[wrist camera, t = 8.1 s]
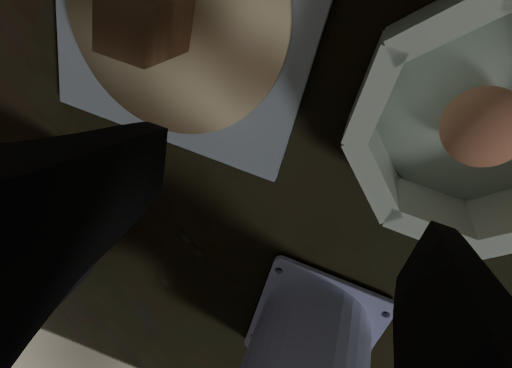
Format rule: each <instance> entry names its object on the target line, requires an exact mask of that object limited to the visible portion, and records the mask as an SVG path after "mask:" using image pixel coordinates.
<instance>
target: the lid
mask: <svg viewBox="0 0 512 368" xmlns="http://www.w3.org/2000/svg"><path fill="white" fill-rule="evenodd" d="M65 1H66V7H67V12H68V17H69V21H70V25H71V28H72V32H73V35H74V37H75V40H76V42H77V45H78V48H79V50H80V52H81V54H82V56H83V58H84V60H85V62H86V63H87V65H88V67H89V68H90V70H91V72H92V73H93V75H94V76H95V78H96V79H97V80H98V82H99V83H100V84H101V86H102V87H103V88H104V89H105V90H106V91H107V93H108V94H109V95H110V96H111V97H112V98H113V99H114V100H115V101H116V102H117V103H119V104H120V105H121V106H122V107H123V108H124V109H126V110H127V111H128V112H130V113H131V114H132V115H134V116H135V117H137V118H139V119H141V120H142V121H144V122H151V123H154V124H157V125H160V126H162V127H165V128H168V131H170V132H175V133H181V134H203V133H210V132H214V131H218V130H221V129H223V128H226V127H228V126H231V125H233V124H234V123H236V122H238V121H239V120H241V119H243V118H244V117H245V116H246V115H248V114H249V113H250V112H251V111H253V110H254V109H255V108H256V107H257V106H258V105H259V104H260V102H261V101H262V100H263V99H264V98H265V97H266V96H267V95H268V93H269V92H270V90H271V89H272V87H273V86H274V85H275V83H276V81H277V79H278V77H279V75H280V73H281V71H282V69H283V67H284V64H285V61H286V58H287V55H288V51H289V47H290V42H291V37H292V27H293V0H65Z"/></svg>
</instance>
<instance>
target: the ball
mask: <svg viewBox="0 0 512 368" xmlns="http://www.w3.org/2000/svg"><path fill="white" fill-rule="evenodd" d="M439 136H440V140H441V143H442V145H443V147H444V149H445V150H446V152H447V153H448V154H449V155H450V156H451V157H453V158H454V159H455V160H457V161H458V162H460V163H463V164H465V165H468V166H472V167H493V166H497V165H500V164H503V163H505V162H507V161H509V160H511V159H512V91H511V90H509V89H506V88H503V87H499V86H480V87H475V88H472V89H469V90H467V91H465V92H463V93H461V94H460V95H458V96H457V97H455V98H454V99H453V100H452V101H451V102H450V103H449V104H448V105H447V107H446V108H445V110H444V112H443V114H442V116H441V119H440V123H439Z"/></svg>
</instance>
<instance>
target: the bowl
mask: <svg viewBox="0 0 512 368" xmlns="http://www.w3.org/2000/svg"><path fill="white" fill-rule="evenodd" d="M480 86H499V87H503V88H506V89H509V90H511V91H512V0H436V1H434V2H432V3H430V4H429V5H427V6H425V7H423V8H421V9H419V10H417V11H415V12H413V13H411V14H410V15H408V16H406V17H404V18H402V19H400V20H398V21H396V22H394V23H393V24H391V25H389V26H387V27H385V30H383V31H382V34H381V36H380V39H379V41H378V44H377V46H376V49H375V51H374V54H373V56H372V59H371V61H370V64H369V66H368V69H367V71H366V74H365V76H364V79H363V81H362V84H361V86H360V89H359V91H358V94H357V97H356V99H355V102H354V104H353V107H352V109H351V112H350V114H349V118H348V121H347V124H346V128H345V131H344V134H343V138H342V141H341V144H342V145H341V148H342V150H343V152H344V154H345V156H346V158H347V160H348V162H349V164H350V166H351V168H352V170H353V172H354V173H355V175H356V177H357V179H358V181H359V183H360V185H361V187H362V189H363V191H364V193H365V195H366V197H367V199H368V201H369V203H370V205H371V207H372V209H373V211H374V213H375V215H376V217H377V219H378V221H379V223H380V224H382V226H383V227H386V228H389V229H391V230H394V231H397V232H399V233H402V234H405V235H407V236H410V237H413V238H415V239H418V240H419V239H420V238H421V236H422V234H423V233H424V231H425V229H426V228H427V226H428V224H429V223H430V221H431V220H432V221H435V222H438V223H441V224H444V225H446V226H449V227H452V228H455V229H457V230H458V231H459V232H460V233H461V235H462V236H463V237H464V238H465V239H466V240H467V242H468V243H469V244H470V245H471V246H472V248H473V249H474V250H475V251H476V253H477V254H478V255H479V256H480V258H481V259H482V260H483V259H488V258H493V257H497V256H502V255H507V254H512V159H511V160H509V161H507V162H505V163H503V164H500V165H497V166H493V167H472V166H468V165H465V164H463V163H460V162H458V161H457V160H455V159H454V158H453V157H451V156H450V155H449V154H448V153H447V152H446V150H445V149H444V147H443V145H442V143H441V140H440V136H439V123H440V119H441V116H442V114H443V112H444V110H445V108H446V107H447V105H448V104H449V103H450V102H451V101H452V100H453V99H454V98H455V97H457V96H458V95H460V94H461V93H463V92H465V91H467V90H469V89H472V88H475V87H480Z"/></svg>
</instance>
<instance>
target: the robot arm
mask: <svg viewBox="0 0 512 368" xmlns="http://www.w3.org/2000/svg"><path fill="white" fill-rule="evenodd" d="M167 135H168V128H165V127H162V126H160V125H157V124H154V123H151V122H137V123H130V124H124V125H118V126H113V127H108V128H102V129H97V130H92V131H86V132H81V133H76V134H69V135H63V136H56V137H50V138H43V139H37V140H29V141H21V142H11V143H0V368H11V367H12V365H13V364H14V363H15V361H16V360H17V359H18V357H19V356H20V354H21V353H22V351H23V350H24V349H25V347H26V346H27V345H28V343H29V342H30V341H31V340H32V338H33V337H34V336H35V334H36V333H37V332H38V330H39V329H40V328H41V327H42V325H43V324H44V323H45V321H46V320H47V319H48V317H49V316H50V315H51V314H52V312H53V311H54V310H55V309H56V307H57V306H58V305H59V304H60V302H61V301H62V300H63V299H64V297H65V296H66V295H67V294H68V293H69V291H70V290H71V289H72V288H73V286H74V285H75V284H76V283H77V282H78V281H79V279H80V278H81V277H82V276H83V275H84V274H85V273H86V272H87V271H88V270H89V269H90V268H91V267H92V266H93V265H94V264H95V263H96V262H97V261H98V260H99V259H100V258H101V257H102V256H103V255H104V254H105V253H106V252H107V251H108V250H109V249H110V248H111V247H112V246H113V245H114V244H115V243H116V242H117V241H118V240H119V239H120V238H121V237H122V236H123V235H124V234H125V233H126V232H127V231H128V230H129V229H130V228H131V227H132V226H133V225H134V224H135V223H136V222H137V221H138V220H139V219H140V218H141V217H142V216H143V215H144V213H145V212H146V211H147V210H148V208H149V207H150V206H151V204H152V203H153V202H154V200H155V199H156V197H157V196H158V195H159V193H160V192H161V190H162V187H163V176H164V166H165V156H166V145H167ZM277 267H278V268H281V269H282V270H279V269H278V268H277ZM383 311H386V312H389V313H384V312H383ZM392 319H393V344H394V368H512V296H511V295H510V294H509V293H508V291H507V290H506V289H505V288H504V287H503V285H502V284H501V283H500V282H499V280H498V279H497V278H496V277H495V275H494V274H493V273H492V272H491V270H490V269H489V268H488V267H487V265H486V264H485V263H484V262H483V260H482V259H481V258H480V256H479V255H478V254H477V253H476V251H475V250H474V249H473V248H472V246H471V245H470V244H469V243H468V242H467V240H466V239H465V238H464V237H463V236H462V235H461V233H460V232H459V231H458V230H457V229H455V228H452V227H449V226H446V225H444V224H441V223H438V222H435V221H432V220H431V221H430V223H429V224H428V226H427V228H426V229H425V231H424V233H423V234H422V236H421V238H420V239H419V241H418V243H417V245H416V246H415V248H414V250H413V251H412V253H411V255H410V256H409V258H408V260H407V261H406V263H405V265H404V266H403V268H402V270H401V271H400V273H399V275H398V277H397V281H396V288H395V296H394V300H392V299H389V298H387V297H384V296H382V295H379V294H377V293H374V292H372V291H369V290H367V289H364V288H362V287H359V286H357V285H355V284H352V283H350V282H347V281H345V280H342V279H340V278H337V277H335V276H332V275H330V274H327V273H325V272H322V271H320V270H317V269H315V268H312V267H310V266H307V265H305V264H303V263H300V262H298V261H295V260H293V259H290V258H288V257H285V256H282V255H280V256H277V257H276V258H275V260H274V262H273V265H272V268H271V270H270V273H269V276H268V278H267V281H266V284H265V287H264V289H263V292H262V295H261V298H260V300H259V303H258V306H257V309H256V311H255V314H254V317H253V320H252V322H251V325H250V328H249V331H248V333H247V336H246V339H245V342H244V343H245V345H246V346H247V347H248V348H247V351H246V353H245V356H244V358H243V361H242V364H241V366H240V368H370V361H371V350H372V348H373V347H374V345H375V344H376V342H377V341H378V339H379V338H380V336H381V335H382V333H383V332H384V330H385V329H386V328H387V326H388V325H389V323H390V322H391V320H392Z"/></svg>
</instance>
